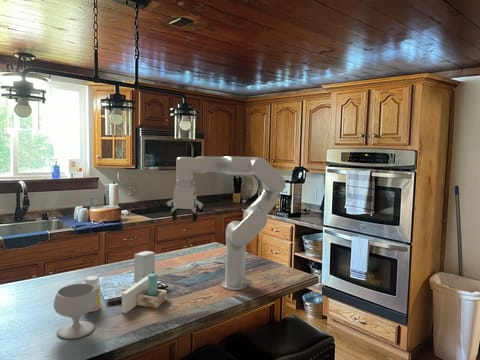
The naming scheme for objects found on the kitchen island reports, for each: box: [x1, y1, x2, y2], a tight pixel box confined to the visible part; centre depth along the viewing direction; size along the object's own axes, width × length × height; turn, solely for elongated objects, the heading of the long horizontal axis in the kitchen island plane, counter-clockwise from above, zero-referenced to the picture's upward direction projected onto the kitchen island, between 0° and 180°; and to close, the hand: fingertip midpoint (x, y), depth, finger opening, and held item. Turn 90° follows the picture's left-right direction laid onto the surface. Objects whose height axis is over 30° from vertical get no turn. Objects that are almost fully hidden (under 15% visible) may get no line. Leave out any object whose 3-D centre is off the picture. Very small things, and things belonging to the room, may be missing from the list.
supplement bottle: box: [84, 275, 101, 313], centre depth 142 cm, size 7×7×13 cm
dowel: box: [147, 273, 158, 297], centre depth 149 cm, size 4×4×12 cm
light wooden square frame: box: [136, 288, 168, 309], centre depth 149 cm, size 9×9×4 cm
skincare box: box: [133, 250, 156, 283], centre depth 170 cm, size 8×6×15 cm
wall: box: [121, 276, 148, 314], centre depth 150 cm, size 2×22×8 cm, turn 166°
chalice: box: [53, 283, 98, 340], centre depth 125 cm, size 14×14×15 cm
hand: (184, 220), depth 163 cm, fingers open, 9 cm apart
